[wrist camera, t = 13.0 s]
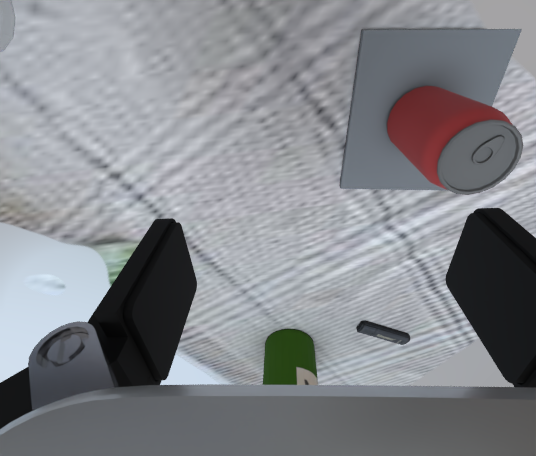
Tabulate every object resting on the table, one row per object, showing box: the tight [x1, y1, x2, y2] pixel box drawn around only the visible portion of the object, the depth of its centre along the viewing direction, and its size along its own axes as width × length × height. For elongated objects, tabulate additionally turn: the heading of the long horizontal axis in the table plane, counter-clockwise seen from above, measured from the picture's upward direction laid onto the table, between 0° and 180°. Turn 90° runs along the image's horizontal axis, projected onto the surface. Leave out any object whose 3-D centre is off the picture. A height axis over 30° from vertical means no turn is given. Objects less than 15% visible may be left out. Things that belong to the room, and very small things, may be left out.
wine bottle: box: [263, 329, 318, 385], centre depth 41 cm, size 9×9×32 cm
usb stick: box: [357, 321, 410, 345], centre depth 51 cm, size 10×3×2 cm, turn 69°
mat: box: [340, 29, 521, 190], centre depth 32 cm, size 16×14×1 cm
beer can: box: [387, 86, 523, 195], centre depth 26 cm, size 7×7×12 cm
